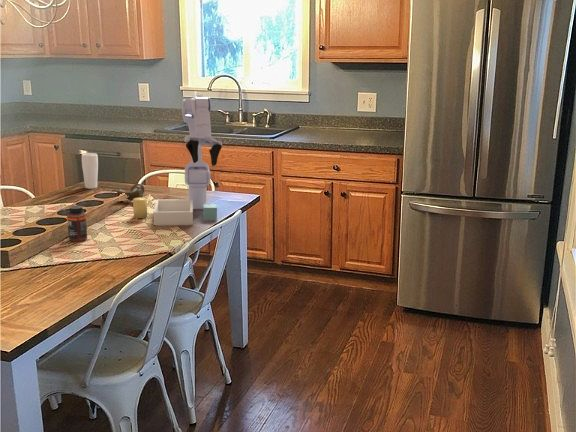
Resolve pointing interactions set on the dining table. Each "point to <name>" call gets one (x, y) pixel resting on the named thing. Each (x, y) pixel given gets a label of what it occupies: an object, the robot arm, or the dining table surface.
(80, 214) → the supplement bottle
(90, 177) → the drinking glass
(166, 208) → the grey tote
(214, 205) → the teal cube
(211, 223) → the dining table surface
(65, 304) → the dining table surface
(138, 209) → the mustard cylinder
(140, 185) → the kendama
